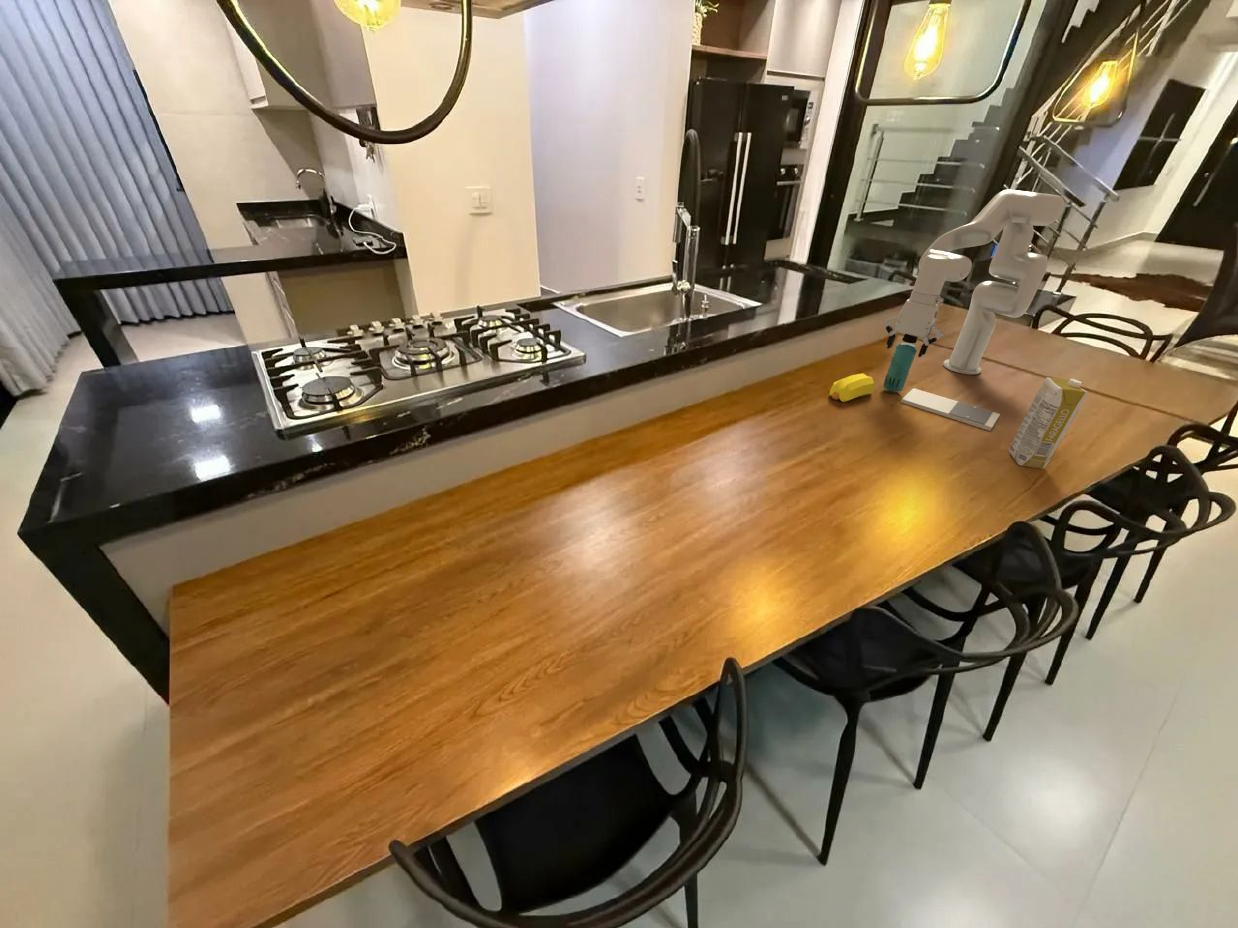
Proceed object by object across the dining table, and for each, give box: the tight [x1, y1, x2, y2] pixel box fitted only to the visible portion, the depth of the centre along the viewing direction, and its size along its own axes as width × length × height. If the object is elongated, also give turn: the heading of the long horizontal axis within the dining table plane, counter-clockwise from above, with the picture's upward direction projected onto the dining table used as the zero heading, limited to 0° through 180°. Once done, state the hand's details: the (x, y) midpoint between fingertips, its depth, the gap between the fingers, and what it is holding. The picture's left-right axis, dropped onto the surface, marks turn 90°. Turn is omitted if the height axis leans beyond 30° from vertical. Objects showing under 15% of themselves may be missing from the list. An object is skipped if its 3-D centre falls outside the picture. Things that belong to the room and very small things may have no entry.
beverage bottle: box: [883, 334, 919, 393], centre depth 176 cm, size 6×7×20 cm
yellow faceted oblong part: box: [829, 373, 875, 403], centre depth 176 cm, size 18×7×8 cm
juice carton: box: [1008, 376, 1089, 469], centre depth 141 cm, size 9×8×24 cm
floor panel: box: [900, 387, 1001, 431], centre depth 172 cm, size 12×26×2 cm, turn 49°
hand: (904, 351), depth 174 cm, fingers open, 9 cm apart
